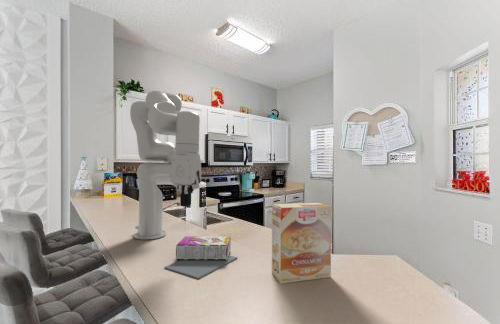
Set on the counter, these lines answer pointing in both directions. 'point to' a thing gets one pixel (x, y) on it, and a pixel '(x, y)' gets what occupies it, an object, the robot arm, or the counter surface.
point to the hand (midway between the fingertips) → (185, 205)
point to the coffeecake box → (301, 241)
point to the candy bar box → (203, 248)
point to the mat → (198, 266)
